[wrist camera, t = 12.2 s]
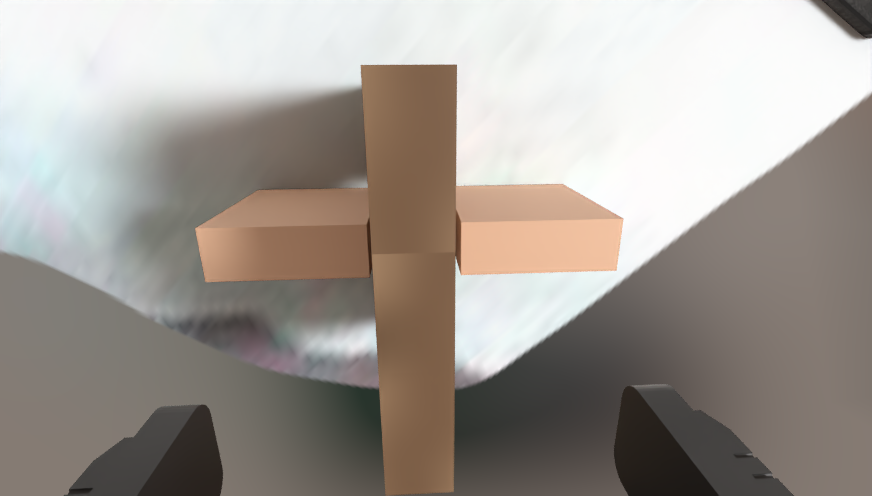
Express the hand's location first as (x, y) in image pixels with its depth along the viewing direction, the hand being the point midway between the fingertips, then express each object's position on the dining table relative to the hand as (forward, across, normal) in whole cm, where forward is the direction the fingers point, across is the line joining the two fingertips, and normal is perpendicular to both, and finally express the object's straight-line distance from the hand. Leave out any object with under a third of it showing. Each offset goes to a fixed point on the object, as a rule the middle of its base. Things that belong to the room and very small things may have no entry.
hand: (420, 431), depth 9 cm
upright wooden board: (+19, 0, 0) cm, 19 cm away
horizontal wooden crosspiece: (+19, 0, 0) cm, 19 cm away
